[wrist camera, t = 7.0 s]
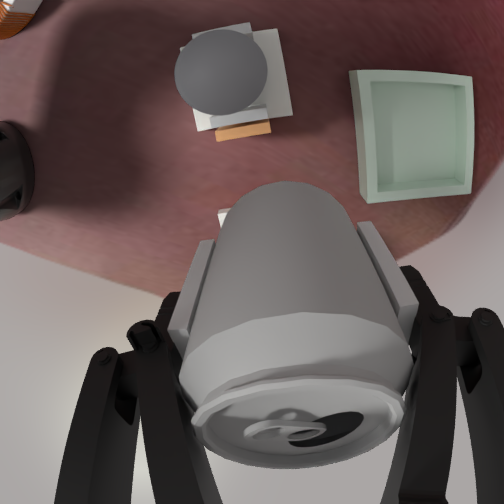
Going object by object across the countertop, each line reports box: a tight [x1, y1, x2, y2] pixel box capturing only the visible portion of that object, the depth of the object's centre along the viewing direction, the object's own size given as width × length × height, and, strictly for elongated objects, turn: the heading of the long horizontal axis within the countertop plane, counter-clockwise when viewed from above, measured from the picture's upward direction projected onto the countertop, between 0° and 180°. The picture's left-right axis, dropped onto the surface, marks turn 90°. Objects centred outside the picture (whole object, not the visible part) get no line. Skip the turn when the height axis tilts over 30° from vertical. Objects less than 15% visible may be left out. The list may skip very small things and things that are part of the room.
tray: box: [348, 70, 474, 204], centre depth 28 cm, size 14×14×3 cm
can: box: [179, 181, 414, 469], centre depth 12 cm, size 8×8×12 cm
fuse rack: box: [175, 22, 293, 227], centre depth 28 cm, size 10×29×12 cm, turn 10°
